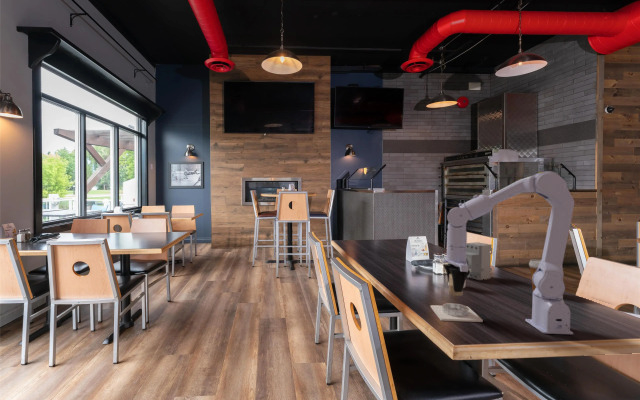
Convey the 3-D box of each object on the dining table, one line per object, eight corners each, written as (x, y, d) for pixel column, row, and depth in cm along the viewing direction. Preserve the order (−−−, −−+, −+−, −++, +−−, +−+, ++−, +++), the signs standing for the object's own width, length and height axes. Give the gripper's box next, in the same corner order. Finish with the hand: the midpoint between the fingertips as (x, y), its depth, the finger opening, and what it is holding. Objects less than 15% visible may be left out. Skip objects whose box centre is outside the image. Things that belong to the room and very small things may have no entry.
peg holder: (482, 322, 102) (482, 314, 102) (441, 320, 103) (441, 313, 103) (467, 308, 114) (467, 301, 114) (430, 307, 115) (430, 300, 115)
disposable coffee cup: (522, 290, 135) (522, 260, 134) (539, 288, 138) (540, 258, 138) (545, 298, 126) (546, 265, 125) (563, 295, 129) (564, 263, 129)
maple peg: (464, 296, 106) (465, 276, 106) (451, 295, 106) (452, 276, 106) (459, 292, 110) (460, 273, 110) (446, 292, 110) (447, 273, 110)
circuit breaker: (454, 277, 154) (455, 244, 154) (477, 274, 160) (478, 242, 160) (468, 281, 148) (468, 246, 147) (491, 278, 154) (492, 244, 153)
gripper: (437, 242, 115) (436, 282, 116) (450, 249, 101) (449, 296, 101) (458, 242, 115) (457, 283, 115) (475, 250, 100) (474, 296, 101)
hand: (455, 289), depth 108 cm, fingers closed on maple peg, 4 cm apart
